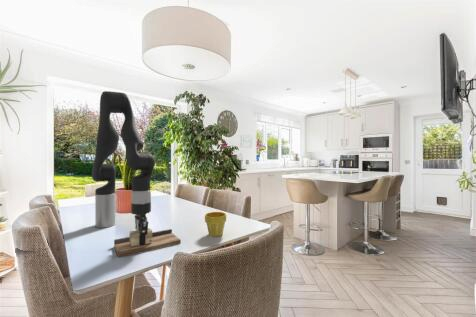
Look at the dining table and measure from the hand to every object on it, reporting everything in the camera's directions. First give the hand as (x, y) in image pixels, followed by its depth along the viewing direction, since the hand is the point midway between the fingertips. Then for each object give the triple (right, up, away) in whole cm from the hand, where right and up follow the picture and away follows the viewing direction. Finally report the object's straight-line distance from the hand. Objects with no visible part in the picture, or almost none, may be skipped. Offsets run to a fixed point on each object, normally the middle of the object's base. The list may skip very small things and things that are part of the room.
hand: (141, 242), depth 93 cm
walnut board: (+2, -2, +3) cm, 4 cm away
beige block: (0, 0, 0) cm, 0 cm away
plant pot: (+29, -2, +16) cm, 33 cm away
